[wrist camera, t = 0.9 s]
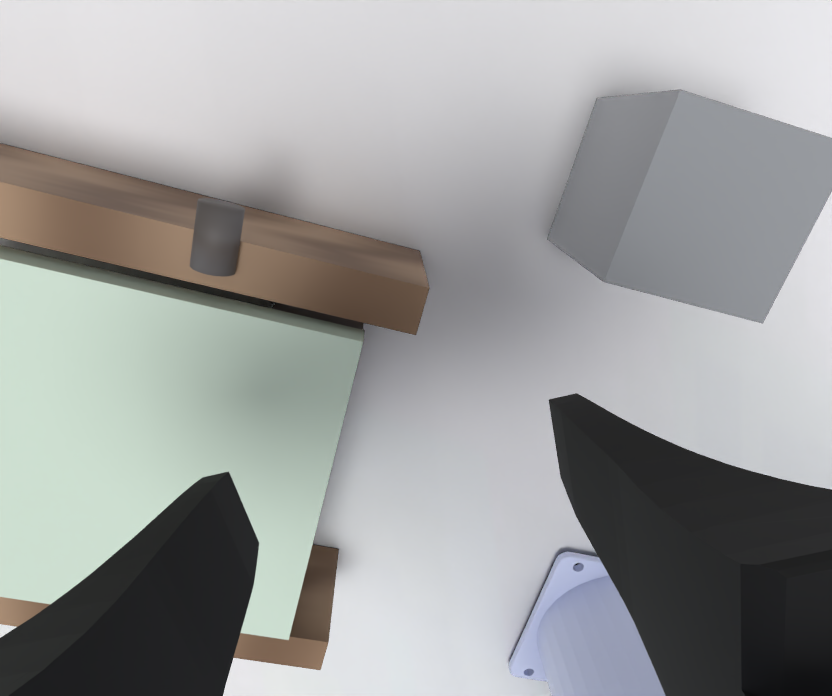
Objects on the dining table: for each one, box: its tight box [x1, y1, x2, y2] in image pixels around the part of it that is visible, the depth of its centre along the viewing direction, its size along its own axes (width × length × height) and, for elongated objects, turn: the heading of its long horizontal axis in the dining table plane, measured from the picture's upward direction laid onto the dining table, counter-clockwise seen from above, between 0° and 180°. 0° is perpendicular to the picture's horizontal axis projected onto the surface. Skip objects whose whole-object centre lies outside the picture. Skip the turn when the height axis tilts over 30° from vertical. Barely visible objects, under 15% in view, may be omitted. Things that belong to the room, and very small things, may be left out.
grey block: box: [547, 90, 832, 323], centre depth 18 cm, size 5×5×6 cm
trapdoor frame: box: [0, 143, 429, 670], centre depth 20 cm, size 18×18×6 cm
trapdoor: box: [0, 245, 364, 640], centre depth 19 cm, size 14×12×4 cm
